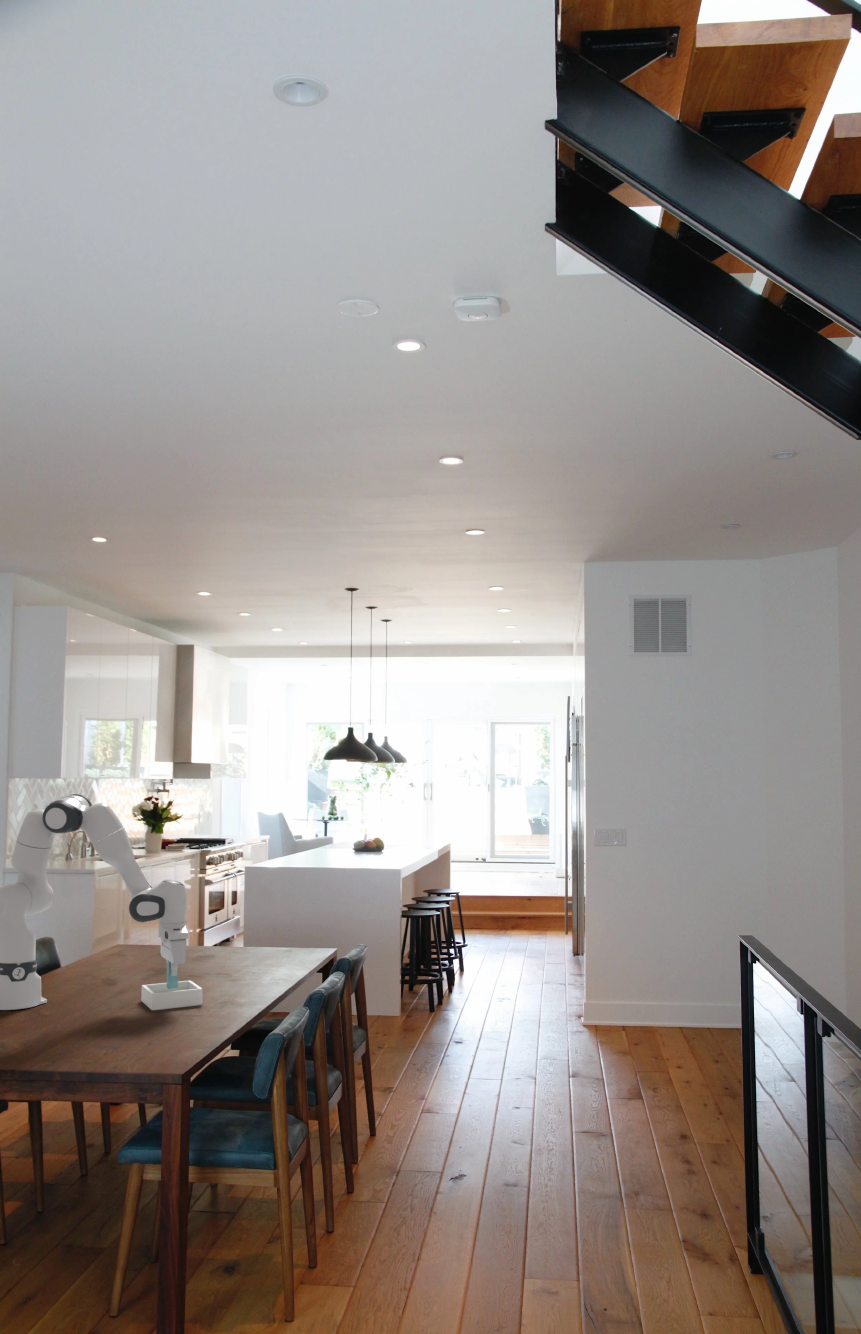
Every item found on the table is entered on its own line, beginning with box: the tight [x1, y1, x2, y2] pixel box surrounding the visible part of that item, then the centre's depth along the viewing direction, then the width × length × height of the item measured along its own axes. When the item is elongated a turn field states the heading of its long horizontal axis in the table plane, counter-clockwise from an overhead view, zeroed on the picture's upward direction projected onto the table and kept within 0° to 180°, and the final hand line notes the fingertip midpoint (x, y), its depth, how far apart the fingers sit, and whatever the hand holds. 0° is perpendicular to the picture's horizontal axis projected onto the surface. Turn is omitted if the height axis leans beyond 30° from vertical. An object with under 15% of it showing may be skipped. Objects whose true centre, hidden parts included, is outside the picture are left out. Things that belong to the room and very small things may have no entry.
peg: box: [166, 960, 179, 989], centre depth 335 cm, size 3×3×10 cm
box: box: [140, 980, 204, 1011], centre depth 335 cm, size 16×16×5 cm
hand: (172, 974), depth 335 cm, fingers closed on peg, 3 cm apart
